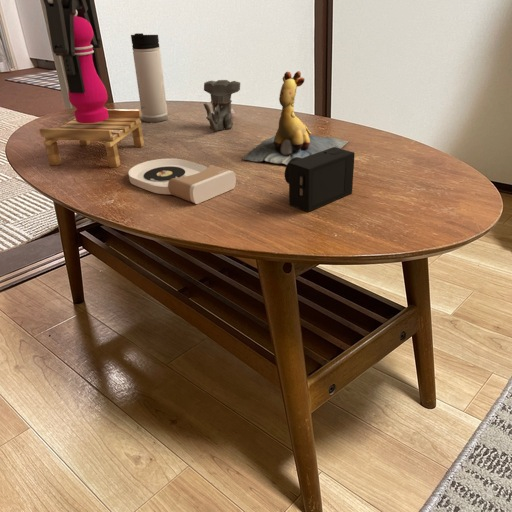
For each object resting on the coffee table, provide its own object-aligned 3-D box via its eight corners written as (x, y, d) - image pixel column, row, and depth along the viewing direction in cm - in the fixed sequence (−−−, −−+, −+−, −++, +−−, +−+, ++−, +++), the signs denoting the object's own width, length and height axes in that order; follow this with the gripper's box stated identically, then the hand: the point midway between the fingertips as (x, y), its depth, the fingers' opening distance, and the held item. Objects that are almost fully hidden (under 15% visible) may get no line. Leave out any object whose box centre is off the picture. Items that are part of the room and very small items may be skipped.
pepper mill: (66, 119, 102) (42, 7, 92) (99, 112, 106) (80, 4, 96) (84, 126, 97) (61, 9, 87) (118, 118, 102) (99, 5, 92)
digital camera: (327, 184, 87) (328, 144, 84) (352, 193, 84) (355, 151, 80) (283, 202, 82) (282, 160, 78) (308, 212, 78) (309, 168, 74)
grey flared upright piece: (266, 122, 122) (265, 78, 117) (207, 140, 112) (203, 92, 107) (225, 112, 131) (223, 71, 126) (168, 128, 121) (162, 84, 116)
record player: (186, 189, 79) (114, 163, 92) (188, 207, 81) (117, 179, 93) (240, 168, 86) (166, 146, 99) (241, 185, 88) (168, 162, 100)
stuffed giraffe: (241, 159, 99) (242, 72, 91) (278, 136, 114) (281, 59, 106) (321, 172, 93) (328, 81, 86) (348, 146, 108) (357, 66, 100)
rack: (48, 166, 100) (39, 129, 96) (85, 142, 113) (78, 108, 109) (115, 168, 98) (109, 130, 94) (145, 144, 110) (140, 109, 107)
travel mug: (137, 122, 126) (124, 33, 116) (148, 115, 131) (137, 30, 121) (161, 123, 124) (150, 33, 114) (171, 116, 130) (162, 30, 120)
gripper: (50, -54, 78) (80, 100, 90) (105, -52, 95) (125, 78, 106) (5, -52, 80) (41, 100, 91) (68, -51, 96) (91, 78, 108)
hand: (86, 88), depth 99 cm, fingers closed on pepper mill, 6 cm apart
